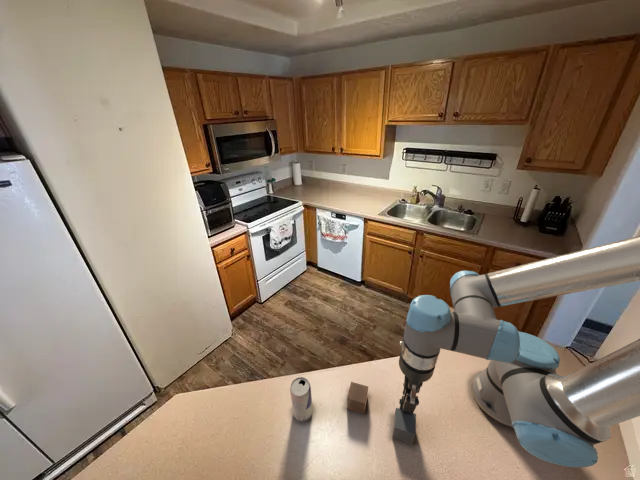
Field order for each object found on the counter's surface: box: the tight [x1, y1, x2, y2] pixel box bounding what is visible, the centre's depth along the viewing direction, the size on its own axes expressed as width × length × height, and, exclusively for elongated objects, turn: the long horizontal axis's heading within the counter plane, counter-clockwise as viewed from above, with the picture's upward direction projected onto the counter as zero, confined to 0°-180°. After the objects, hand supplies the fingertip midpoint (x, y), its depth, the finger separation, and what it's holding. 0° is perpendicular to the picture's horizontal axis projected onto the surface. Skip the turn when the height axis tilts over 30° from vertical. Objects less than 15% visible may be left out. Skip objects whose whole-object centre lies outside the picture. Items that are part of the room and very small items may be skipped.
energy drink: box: [289, 376, 314, 423], centre depth 69 cm, size 5×5×12 cm
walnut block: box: [346, 381, 369, 415], centre depth 73 cm, size 5×5×5 cm
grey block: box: [391, 407, 417, 446], centre depth 66 cm, size 5×5×5 cm
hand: (404, 413), depth 69 cm, fingers closed
